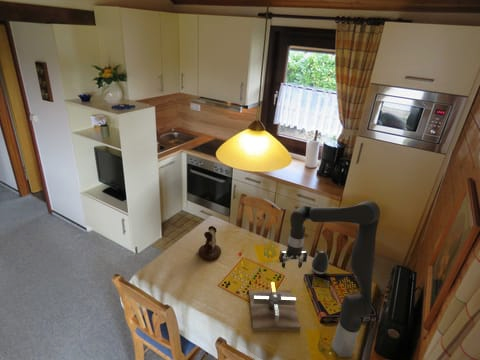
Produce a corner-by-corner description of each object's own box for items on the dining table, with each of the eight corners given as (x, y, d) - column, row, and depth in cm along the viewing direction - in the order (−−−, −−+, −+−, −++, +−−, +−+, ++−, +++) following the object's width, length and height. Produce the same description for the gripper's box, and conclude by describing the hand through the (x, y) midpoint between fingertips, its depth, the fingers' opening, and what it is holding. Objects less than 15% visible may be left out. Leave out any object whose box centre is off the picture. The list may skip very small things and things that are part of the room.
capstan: (297, 326, 154) (299, 315, 150) (254, 324, 153) (255, 313, 149) (290, 292, 173) (292, 281, 170) (251, 290, 172) (253, 280, 169)
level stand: (300, 330, 154) (300, 327, 153) (252, 330, 152) (253, 327, 151) (290, 292, 176) (290, 290, 175) (248, 292, 174) (249, 290, 173)
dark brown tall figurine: (216, 264, 193) (217, 238, 184) (194, 257, 197) (194, 232, 188) (224, 249, 206) (225, 225, 197) (204, 244, 209) (204, 220, 200)
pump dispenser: (314, 262, 200) (319, 244, 193) (329, 270, 194) (334, 251, 188) (307, 270, 193) (311, 252, 186) (322, 279, 187) (327, 260, 180)
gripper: (307, 238, 160) (302, 262, 167) (280, 238, 158) (276, 262, 165) (311, 247, 153) (306, 272, 160) (283, 247, 152) (279, 272, 159)
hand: (291, 267), depth 163 cm, fingers open, 8 cm apart
